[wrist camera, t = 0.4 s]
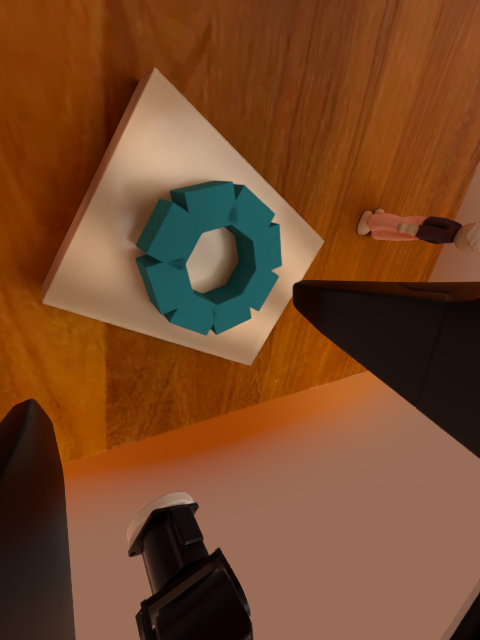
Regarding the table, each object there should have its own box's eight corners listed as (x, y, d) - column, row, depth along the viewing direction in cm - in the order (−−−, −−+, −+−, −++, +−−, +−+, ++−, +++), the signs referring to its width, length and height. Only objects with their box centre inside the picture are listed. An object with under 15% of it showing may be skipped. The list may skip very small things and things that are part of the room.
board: (234, 351, 30) (250, 366, 28) (41, 286, 18) (41, 303, 16) (302, 235, 28) (324, 241, 26) (139, 80, 16) (154, 65, 14)
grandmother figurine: (349, 246, 33) (473, 277, 24) (352, 213, 31) (489, 232, 21) (390, 228, 36) (514, 249, 26) (394, 197, 34) (531, 207, 24)
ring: (223, 334, 24) (238, 347, 22) (111, 291, 18) (119, 305, 16) (281, 232, 23) (301, 238, 21) (184, 147, 16) (202, 145, 15)
